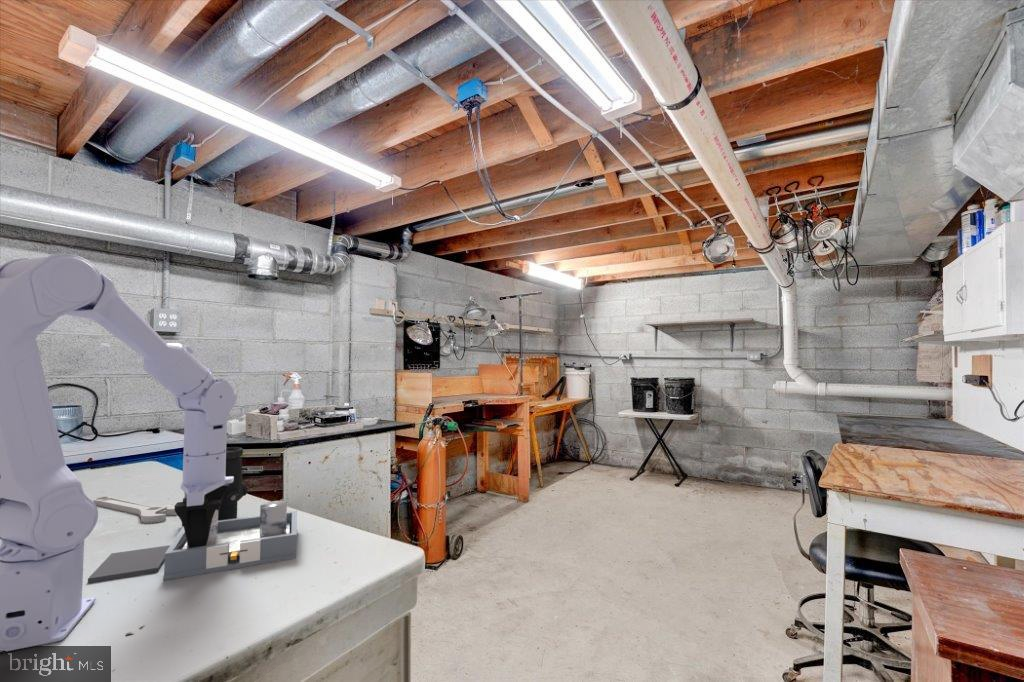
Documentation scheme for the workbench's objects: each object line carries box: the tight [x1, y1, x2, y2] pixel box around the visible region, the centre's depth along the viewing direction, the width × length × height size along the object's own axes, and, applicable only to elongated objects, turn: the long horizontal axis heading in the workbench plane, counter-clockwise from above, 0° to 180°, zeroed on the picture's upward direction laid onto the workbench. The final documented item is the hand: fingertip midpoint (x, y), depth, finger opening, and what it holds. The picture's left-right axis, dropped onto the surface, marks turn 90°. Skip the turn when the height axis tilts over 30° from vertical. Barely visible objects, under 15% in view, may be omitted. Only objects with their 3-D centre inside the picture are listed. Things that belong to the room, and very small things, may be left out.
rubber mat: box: [87, 544, 171, 584], centre depth 69 cm, size 9×8×1 cm
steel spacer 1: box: [187, 509, 218, 548], centre depth 72 cm, size 4×4×5 cm
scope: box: [181, 446, 249, 528], centre depth 87 cm, size 8×14×10 cm
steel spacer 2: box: [259, 500, 288, 538], centre depth 76 cm, size 4×4×5 cm
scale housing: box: [162, 510, 298, 581], centre depth 74 cm, size 13×17×4 cm
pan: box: [183, 522, 290, 560], centre depth 73 cm, size 12×15×1 cm
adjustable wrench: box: [93, 496, 178, 524], centre depth 94 cm, size 25×6×2 cm, turn 62°
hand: (202, 538), depth 72 cm, fingers open, 7 cm apart
